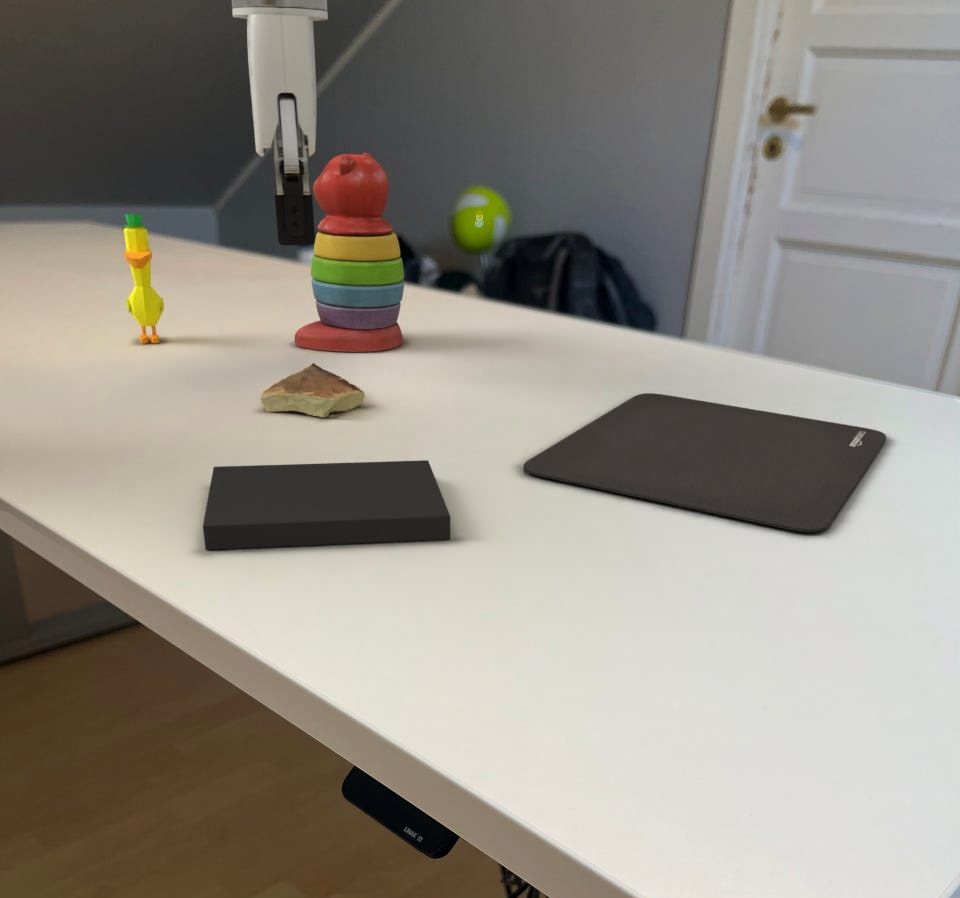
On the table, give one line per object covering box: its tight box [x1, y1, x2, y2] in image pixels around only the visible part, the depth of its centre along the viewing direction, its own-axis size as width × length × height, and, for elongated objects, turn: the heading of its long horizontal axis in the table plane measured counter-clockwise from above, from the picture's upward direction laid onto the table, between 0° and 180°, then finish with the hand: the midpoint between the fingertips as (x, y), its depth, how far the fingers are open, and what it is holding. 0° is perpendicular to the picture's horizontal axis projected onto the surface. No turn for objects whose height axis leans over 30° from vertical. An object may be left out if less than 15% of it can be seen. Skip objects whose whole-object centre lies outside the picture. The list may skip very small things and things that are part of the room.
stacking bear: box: [294, 152, 405, 353], centre depth 98 cm, size 11×10×18 cm
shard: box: [260, 363, 366, 418], centre depth 82 cm, size 11×8×2 cm
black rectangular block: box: [202, 459, 451, 551], centre depth 60 cm, size 14×10×2 cm
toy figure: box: [123, 213, 165, 345], centre depth 96 cm, size 7×4×12 cm, turn 14°
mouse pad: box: [522, 392, 887, 533], centre depth 73 cm, size 25×21×1 cm
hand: (296, 243), depth 86 cm, fingers closed
